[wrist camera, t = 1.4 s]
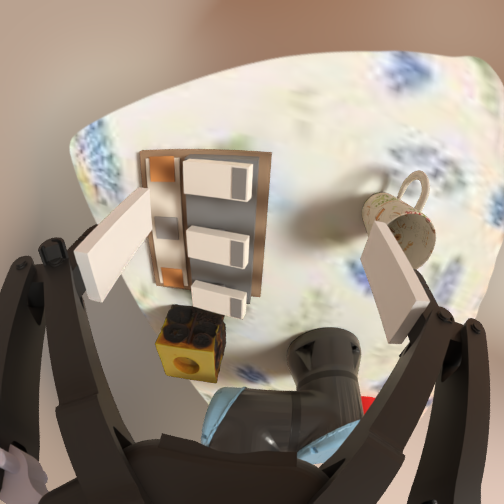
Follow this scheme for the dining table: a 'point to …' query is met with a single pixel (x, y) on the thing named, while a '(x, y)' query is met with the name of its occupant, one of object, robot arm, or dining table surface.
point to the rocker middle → (218, 246)
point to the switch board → (203, 219)
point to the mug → (404, 220)
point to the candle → (192, 343)
